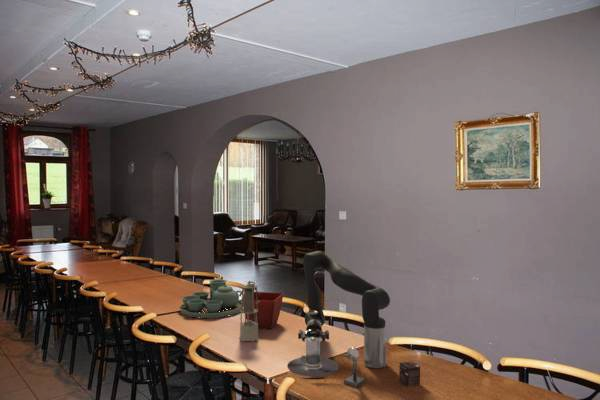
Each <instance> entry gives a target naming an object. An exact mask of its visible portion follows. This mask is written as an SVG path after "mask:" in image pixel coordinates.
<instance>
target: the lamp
mask: <svg viewBox="0 0 600 400" xmlns="http://www.w3.org/2000/svg"><path fill="white" fill-rule="evenodd" d="M241 288H242V289H241V290H242V291H241V292H242V294H241V299H242V301H241V302H242V310H241V311H240V312H239V313H240V324H239V327H240V328H239V329H240V331H239V337H238V340H239V339H240V340H241V341H240V340H239V341H240V342H243V341H254V342H256V341H258V340H260V337H259V328H258V323H257V312H258V307H257V309H254V292H256V303H255V304H257V306H258V303H259V302H260V301H259V302H258V299H257V292H258V293H259V292H260V291H258V285H256V283H255V282H254V281H250V280H249V281H247V284H244V285H242V286H241ZM243 294H244V298H245V306H244V299H243ZM259 294H260V293H259ZM246 313H247V317H248V314H252V313H254V320H255V313H256V322H255V321H254V322H252V320H249V321H247V320H246ZM242 314H244V321H243V320H242V318H243V315H242ZM247 319H248V318H247ZM257 339H258V340H257ZM255 340H256V341H255Z"/></svg>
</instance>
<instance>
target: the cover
mask: <svg viewBox="0 0 600 400" xmlns="http://www.w3.org/2000/svg"><path fill="white" fill-rule="evenodd" d="M305 357H306V367H308V368H319V367H320V357H321V339H318V338H316V337H310V338H308V339H305Z"/></svg>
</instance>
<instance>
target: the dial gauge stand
mask: <svg viewBox="0 0 600 400" xmlns="http://www.w3.org/2000/svg"><path fill="white" fill-rule="evenodd" d="M341 357H344V358H348V359H349V360H350V361H352V375H350V376H349V377H347V378H344V380H343V384H345V385H348V386H351V387H354V388H359V387H360V386H362V385H365V383H366V378H364V377H360V376H357V366H358V365H357V363H358V362H357V361H358V359H359V358H360V351H359V350H358V349H357V348H356V347H355V346H354V347H353V346H352V347H350V348H348V349H347V351H346V353H341Z"/></svg>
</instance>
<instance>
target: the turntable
mask: <svg viewBox="0 0 600 400" xmlns="http://www.w3.org/2000/svg"><path fill="white" fill-rule="evenodd" d="M339 367H340V366H339V364H338V362H337V361H335V360H333V359H330V358H327V357H324V356H320V367H319V368H308V367H306V356H302V357H301V356H300V357H298V358H293V359H292V360H289V362H288V363H287V369H288V370H289V371H290V372H291V373H293V374H295V375H299V376H304V377H302V379H303V380H323V379H326V378H325V377H324V378H323V376H329V375H331V374H334V373H336V372H337V371H338V370H339Z"/></svg>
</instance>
